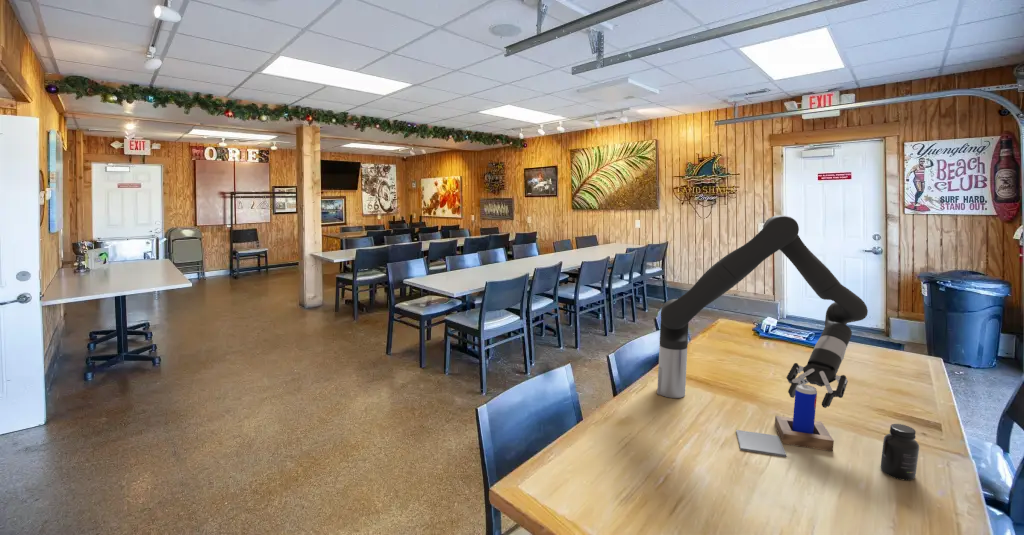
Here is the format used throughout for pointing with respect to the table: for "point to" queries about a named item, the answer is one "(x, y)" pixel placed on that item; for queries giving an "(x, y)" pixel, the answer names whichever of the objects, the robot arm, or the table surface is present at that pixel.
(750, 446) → the slate coaster
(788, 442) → the walnut holder
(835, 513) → the table surface
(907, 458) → the supplement bottle
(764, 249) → the robot arm
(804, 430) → the beverage can
